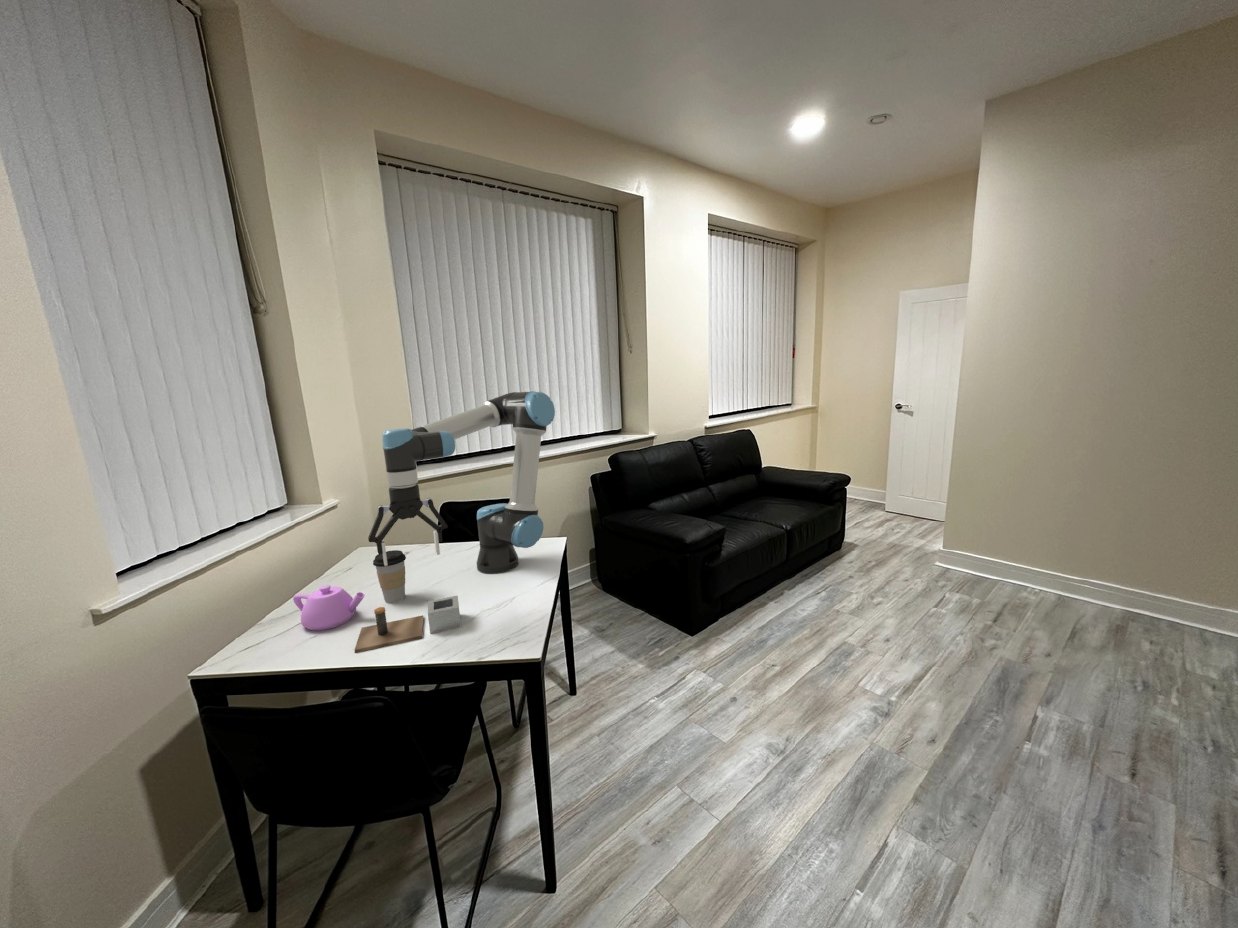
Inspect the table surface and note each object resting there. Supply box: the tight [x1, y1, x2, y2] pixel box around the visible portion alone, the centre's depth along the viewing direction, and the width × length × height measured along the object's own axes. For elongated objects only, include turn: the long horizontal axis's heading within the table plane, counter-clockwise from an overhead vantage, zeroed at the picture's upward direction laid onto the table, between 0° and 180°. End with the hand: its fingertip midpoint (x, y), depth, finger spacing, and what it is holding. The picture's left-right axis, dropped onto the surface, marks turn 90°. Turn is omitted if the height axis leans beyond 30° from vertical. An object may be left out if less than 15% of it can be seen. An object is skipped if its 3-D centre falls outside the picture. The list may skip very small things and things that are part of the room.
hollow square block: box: [427, 595, 462, 634], centre depth 130 cm, size 8×8×6 cm
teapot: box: [292, 584, 365, 631], centre depth 134 cm, size 14×20×11 cm
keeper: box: [354, 606, 424, 653], centre depth 125 cm, size 16×12×8 cm
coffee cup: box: [372, 549, 407, 604], centre depth 146 cm, size 9×9×15 cm
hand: (412, 558), depth 130 cm, fingers open, 13 cm apart
